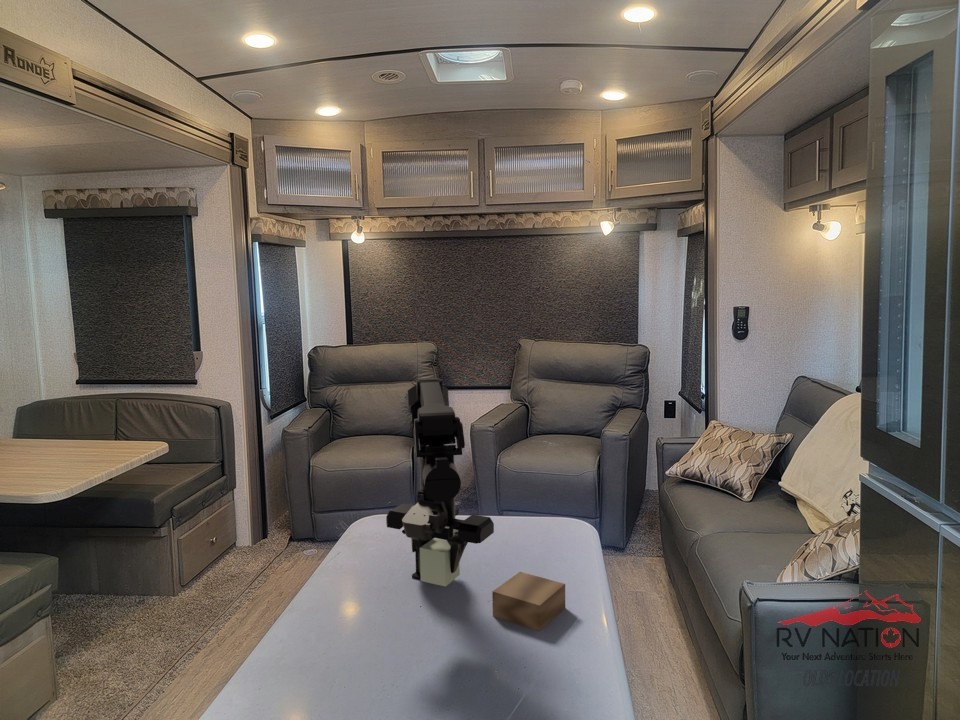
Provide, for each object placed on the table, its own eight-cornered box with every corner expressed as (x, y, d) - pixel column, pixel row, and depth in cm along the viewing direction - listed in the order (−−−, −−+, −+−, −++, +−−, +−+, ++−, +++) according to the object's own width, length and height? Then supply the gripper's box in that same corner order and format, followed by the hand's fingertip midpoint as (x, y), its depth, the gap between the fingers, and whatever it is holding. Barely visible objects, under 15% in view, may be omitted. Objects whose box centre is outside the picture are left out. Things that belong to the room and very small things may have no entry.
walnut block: (492, 616, 123) (492, 591, 122) (520, 595, 131) (520, 571, 131) (539, 632, 117) (539, 605, 117) (565, 608, 125) (565, 583, 125)
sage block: (420, 580, 114) (419, 547, 114) (435, 569, 119) (434, 537, 118) (445, 586, 112) (444, 552, 111) (459, 574, 117) (459, 542, 116)
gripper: (365, 489, 111) (369, 578, 112) (463, 504, 102) (465, 600, 104) (402, 472, 120) (405, 553, 122) (494, 484, 112) (495, 572, 114)
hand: (440, 569), depth 115 cm, fingers closed on sage block, 5 cm apart
